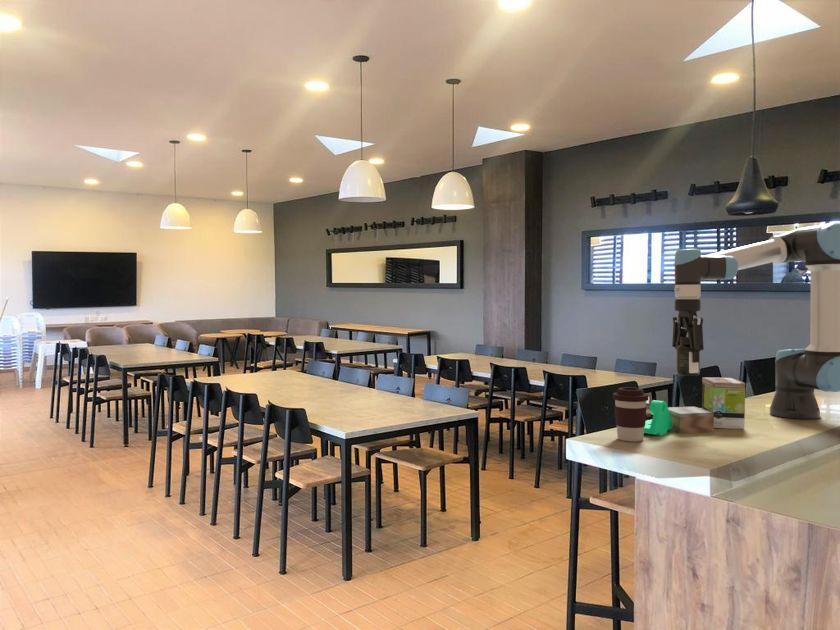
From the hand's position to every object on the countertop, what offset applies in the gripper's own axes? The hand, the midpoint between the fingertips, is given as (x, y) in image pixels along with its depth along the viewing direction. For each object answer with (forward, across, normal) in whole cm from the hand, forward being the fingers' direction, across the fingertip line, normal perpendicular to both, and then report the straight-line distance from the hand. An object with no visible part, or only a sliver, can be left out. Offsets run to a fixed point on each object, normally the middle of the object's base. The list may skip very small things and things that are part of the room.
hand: (687, 371), depth 203 cm
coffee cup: (+19, +11, -24) cm, 32 cm away
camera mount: (+19, +3, -13) cm, 23 cm away
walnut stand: (+18, 0, 0) cm, 18 cm away
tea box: (+18, -5, +15) cm, 24 cm away
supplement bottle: (+1, 0, 0) cm, 1 cm away
